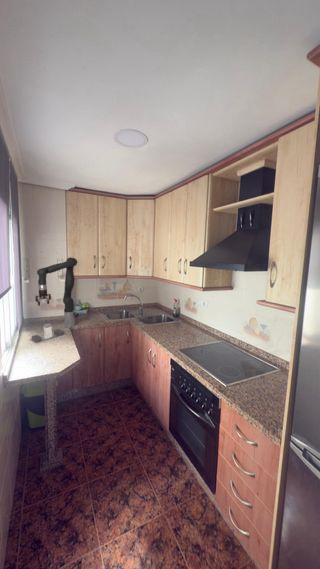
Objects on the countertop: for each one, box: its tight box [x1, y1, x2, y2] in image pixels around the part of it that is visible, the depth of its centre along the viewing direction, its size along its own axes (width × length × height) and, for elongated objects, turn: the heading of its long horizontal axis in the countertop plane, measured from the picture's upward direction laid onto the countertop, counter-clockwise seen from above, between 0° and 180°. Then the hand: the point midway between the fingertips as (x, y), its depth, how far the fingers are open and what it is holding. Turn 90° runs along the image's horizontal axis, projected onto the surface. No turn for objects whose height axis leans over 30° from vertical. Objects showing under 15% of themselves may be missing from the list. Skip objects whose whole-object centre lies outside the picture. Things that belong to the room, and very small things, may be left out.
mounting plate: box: [29, 328, 67, 346], centre depth 223 cm, size 28×14×4 cm, turn 140°
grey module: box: [43, 323, 53, 338], centre depth 222 cm, size 5×5×12 cm
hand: (43, 304), depth 235 cm, fingers open, 8 cm apart
